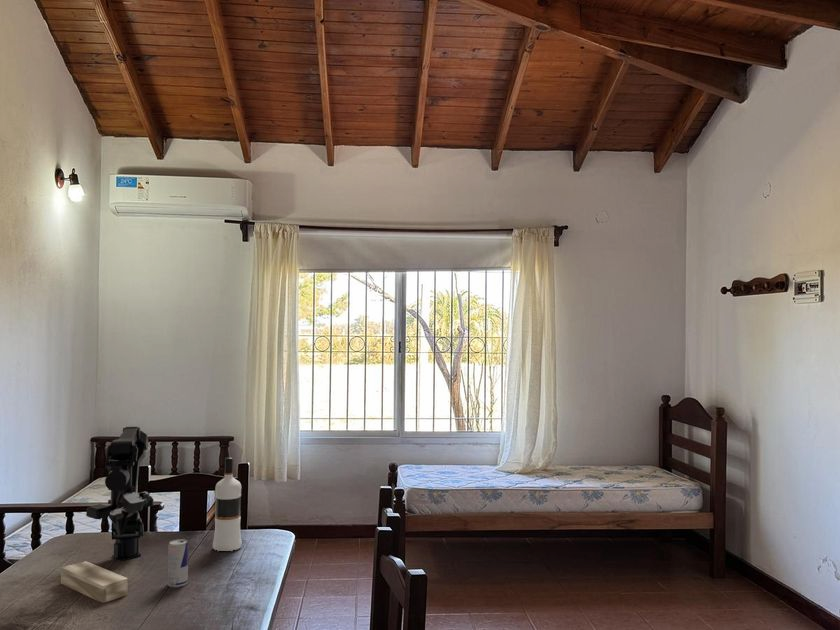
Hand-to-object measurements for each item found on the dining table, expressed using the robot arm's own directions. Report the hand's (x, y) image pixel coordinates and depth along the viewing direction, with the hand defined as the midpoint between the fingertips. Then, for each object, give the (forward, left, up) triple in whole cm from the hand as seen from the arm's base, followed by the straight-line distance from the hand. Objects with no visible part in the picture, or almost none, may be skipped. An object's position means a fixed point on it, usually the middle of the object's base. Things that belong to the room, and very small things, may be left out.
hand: (120, 535), depth 204 cm
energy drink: (-5, +22, -11) cm, 25 cm away
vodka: (-34, +7, -11) cm, 36 cm away
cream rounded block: (+12, +7, -11) cm, 18 cm away
